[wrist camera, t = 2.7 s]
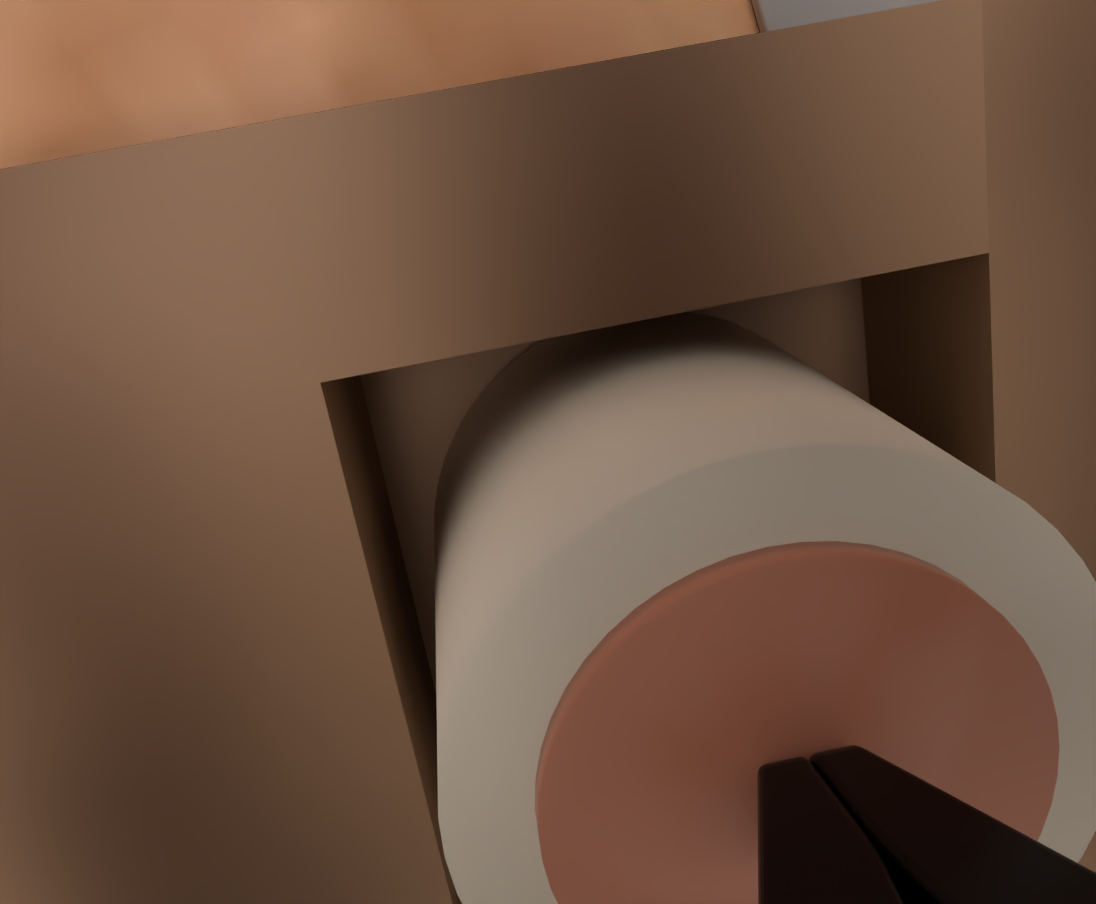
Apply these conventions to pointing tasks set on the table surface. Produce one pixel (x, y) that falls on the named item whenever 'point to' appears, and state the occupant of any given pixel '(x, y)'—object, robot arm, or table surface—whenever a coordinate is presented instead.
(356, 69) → the table surface
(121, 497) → the brown wooden block
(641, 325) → the cream short cylinder
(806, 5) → the mat
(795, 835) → the robot arm
